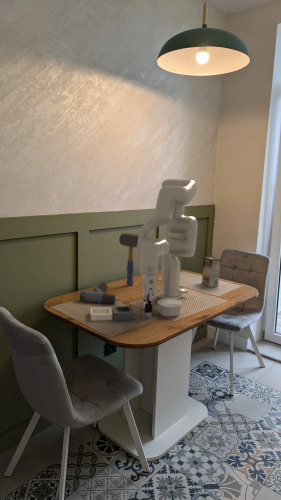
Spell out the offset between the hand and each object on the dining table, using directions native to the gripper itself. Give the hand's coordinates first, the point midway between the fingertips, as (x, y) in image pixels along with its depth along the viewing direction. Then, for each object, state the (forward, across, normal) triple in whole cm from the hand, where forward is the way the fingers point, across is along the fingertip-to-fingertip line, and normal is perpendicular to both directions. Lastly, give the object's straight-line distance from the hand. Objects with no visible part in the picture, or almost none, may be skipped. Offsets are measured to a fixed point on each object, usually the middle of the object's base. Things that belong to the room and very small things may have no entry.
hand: (147, 310), depth 157 cm
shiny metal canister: (+3, 0, 0) cm, 3 cm away
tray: (+3, +2, +20) cm, 20 cm away
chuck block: (+3, +2, +10) cm, 11 cm away
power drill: (+4, +28, +17) cm, 33 cm away
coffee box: (+4, +48, -47) cm, 68 cm away
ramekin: (+4, +4, -11) cm, 12 cm away
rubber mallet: (+3, +48, +1) cm, 49 cm away
